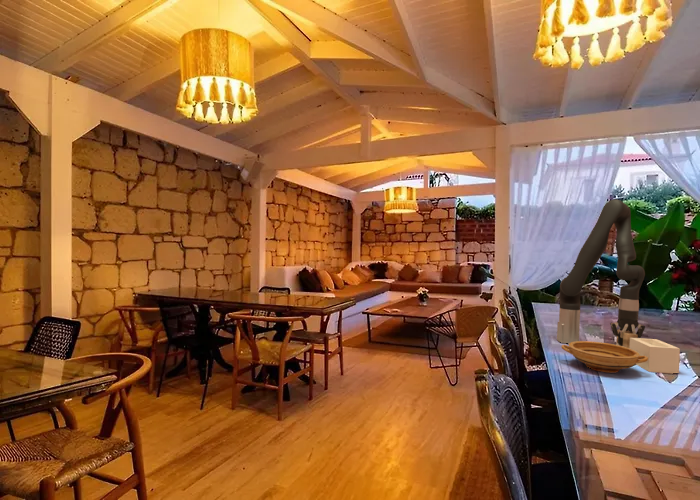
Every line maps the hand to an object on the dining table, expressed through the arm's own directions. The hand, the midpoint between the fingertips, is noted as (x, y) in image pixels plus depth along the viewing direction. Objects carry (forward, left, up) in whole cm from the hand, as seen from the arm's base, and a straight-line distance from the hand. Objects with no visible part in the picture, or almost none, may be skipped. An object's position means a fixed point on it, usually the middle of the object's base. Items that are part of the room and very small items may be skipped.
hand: (626, 345), depth 180 cm
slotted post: (+2, -18, -4) cm, 18 cm away
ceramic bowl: (-20, -25, -4) cm, 32 cm away
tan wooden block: (0, 0, -3) cm, 3 cm away
